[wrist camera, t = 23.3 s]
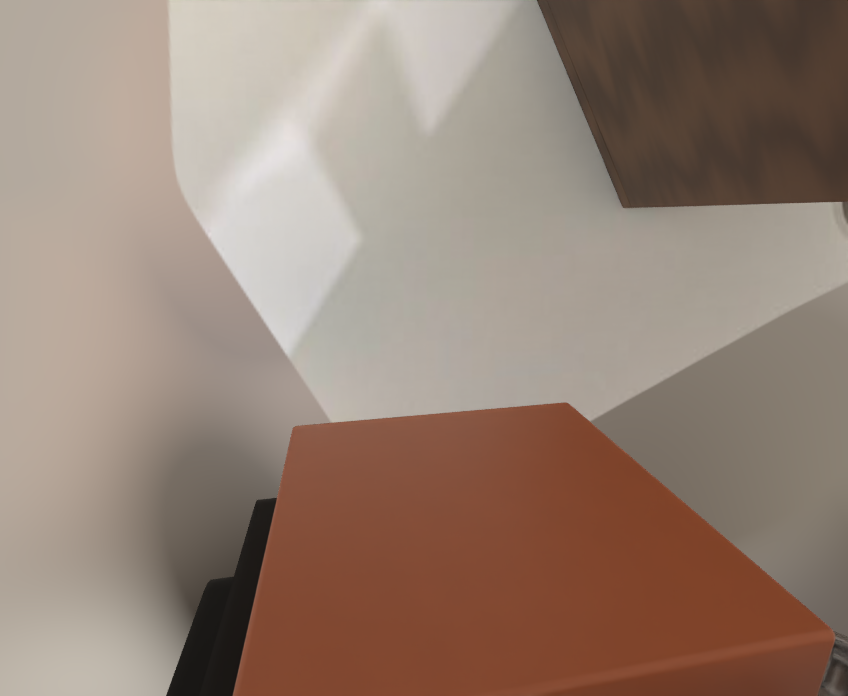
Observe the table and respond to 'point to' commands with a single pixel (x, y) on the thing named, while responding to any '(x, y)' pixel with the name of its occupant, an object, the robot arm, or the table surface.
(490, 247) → the table surface
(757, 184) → the cupboard
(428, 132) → the table surface
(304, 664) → the block
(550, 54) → the table surface
